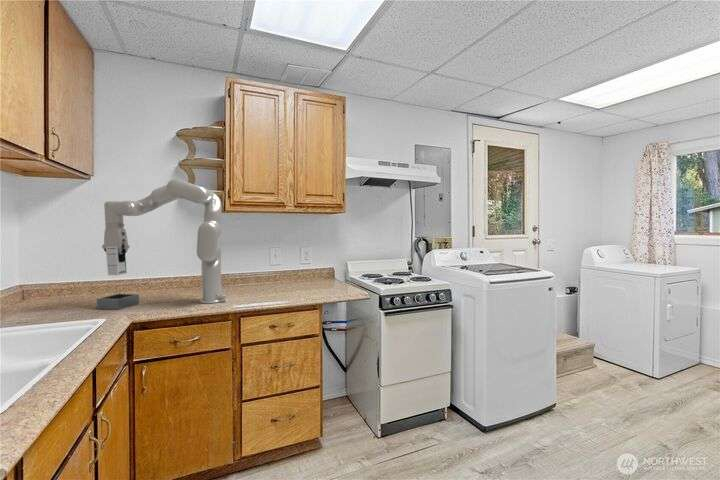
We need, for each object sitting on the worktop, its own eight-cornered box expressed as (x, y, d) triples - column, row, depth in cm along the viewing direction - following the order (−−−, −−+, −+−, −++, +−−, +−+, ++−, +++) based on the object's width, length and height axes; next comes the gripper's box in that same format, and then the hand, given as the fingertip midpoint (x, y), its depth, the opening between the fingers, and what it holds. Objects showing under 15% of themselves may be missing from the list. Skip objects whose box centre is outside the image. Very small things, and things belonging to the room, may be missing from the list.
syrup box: (118, 275, 175) (117, 246, 174) (107, 275, 175) (105, 246, 174) (126, 273, 181) (125, 245, 180) (115, 273, 181) (114, 245, 180)
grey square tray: (139, 303, 184) (138, 294, 183) (118, 309, 172) (117, 299, 171) (119, 302, 186) (118, 293, 186) (97, 308, 174) (96, 298, 174)
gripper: (135, 225, 178) (137, 261, 179) (107, 226, 182) (108, 260, 183) (122, 226, 171) (124, 262, 172) (93, 226, 175) (95, 262, 176)
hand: (116, 261), depth 178 cm, fingers closed on syrup box, 6 cm apart
